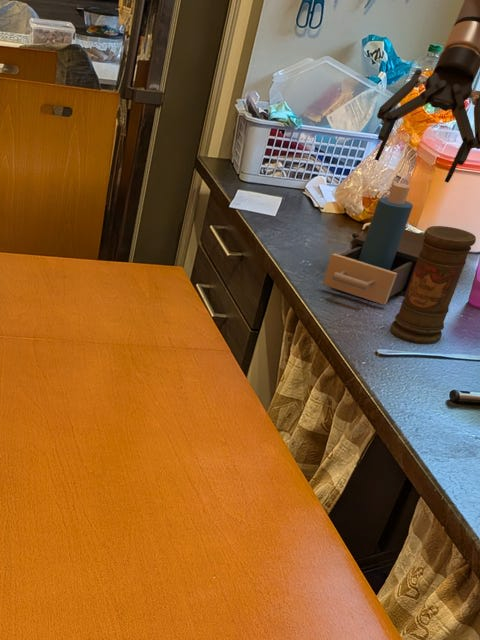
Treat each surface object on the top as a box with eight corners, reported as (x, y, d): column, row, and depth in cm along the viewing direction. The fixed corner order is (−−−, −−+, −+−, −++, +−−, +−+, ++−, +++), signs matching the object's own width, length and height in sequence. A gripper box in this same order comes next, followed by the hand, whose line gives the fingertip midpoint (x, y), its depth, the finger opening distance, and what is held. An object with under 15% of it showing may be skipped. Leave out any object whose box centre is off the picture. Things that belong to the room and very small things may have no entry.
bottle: (389, 283, 186) (424, 187, 175) (376, 290, 182) (411, 192, 171) (360, 273, 189) (392, 178, 177) (346, 280, 185) (378, 183, 173)
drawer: (375, 309, 177) (386, 278, 173) (313, 289, 183) (322, 258, 179) (414, 287, 189) (425, 258, 185) (354, 269, 195) (364, 239, 191)
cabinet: (407, 298, 187) (422, 258, 182) (341, 276, 193) (354, 238, 188) (437, 280, 197) (452, 242, 192) (374, 261, 203) (386, 224, 198)
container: (398, 321, 176) (432, 221, 164) (445, 334, 172) (484, 233, 160) (383, 334, 170) (417, 232, 158) (432, 348, 166) (470, 244, 155)
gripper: (521, 87, 175) (472, 197, 177) (392, 50, 179) (346, 157, 181) (535, 64, 167) (484, 179, 170) (400, 26, 172) (352, 138, 174)
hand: (412, 168), depth 175 cm, fingers open, 13 cm apart
